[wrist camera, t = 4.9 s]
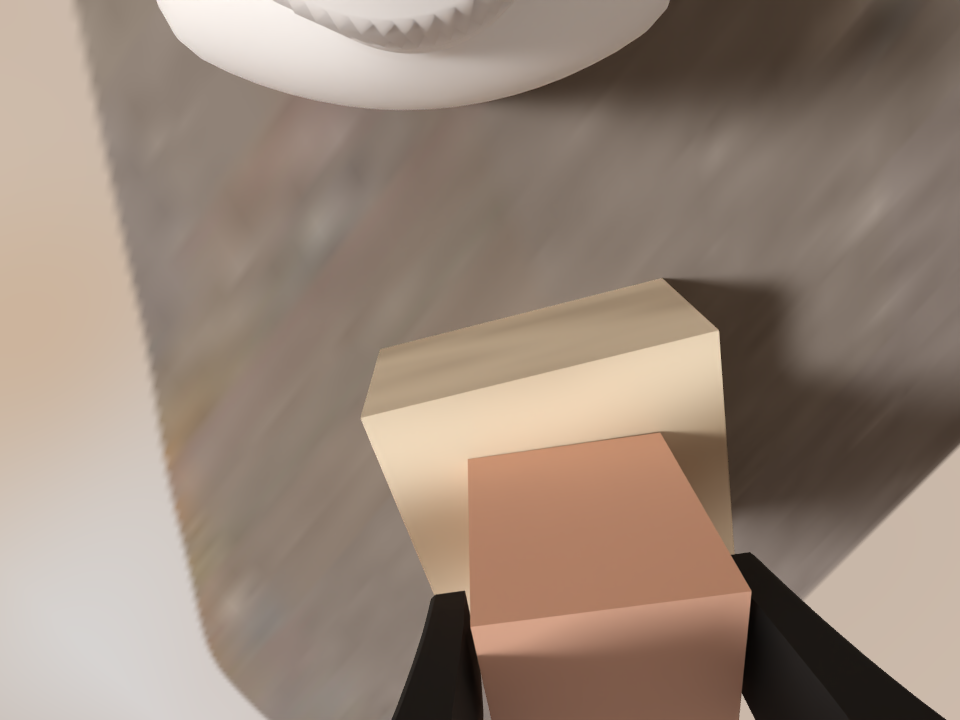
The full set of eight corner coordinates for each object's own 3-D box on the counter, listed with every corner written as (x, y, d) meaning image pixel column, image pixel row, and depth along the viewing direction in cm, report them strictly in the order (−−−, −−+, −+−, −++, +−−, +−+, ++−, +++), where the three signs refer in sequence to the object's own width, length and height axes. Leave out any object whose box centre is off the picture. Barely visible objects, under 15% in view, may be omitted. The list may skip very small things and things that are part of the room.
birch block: (683, 493, 19) (736, 588, 15) (456, 544, 19) (456, 647, 16) (657, 273, 15) (719, 330, 12) (381, 344, 16) (360, 418, 12)
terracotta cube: (660, 572, 15) (735, 754, 11) (493, 594, 15) (505, 781, 11) (660, 432, 13) (751, 591, 9) (467, 459, 13) (470, 626, 9)
